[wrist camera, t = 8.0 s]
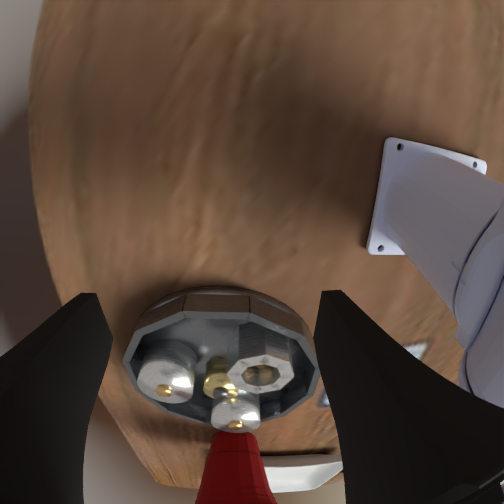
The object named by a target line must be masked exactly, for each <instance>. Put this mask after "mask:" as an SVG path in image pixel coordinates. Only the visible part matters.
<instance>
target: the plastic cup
mask: <svg viewBox="0 0 504 504" xmlns="http://www.w3.org/2000/svg"><path fill="white" fill-rule="evenodd" d="M195 504H277V502H276V501H275V498H274V497H273V494H272V491H271V490H270V487H269V483H268V479H267V476H266V472H265V468H264V465H263V461H262V457H261V456H260V452H259V447H258V443H257V440H256V438H255V436H254V435H253V434H251V433H248V432H243V433H230V432H225V431H223V432H219V433H217V434H215V436H214V437H213V440H212V442H211V446H210V450H209V455H208V457H207V460H206V464H205V468H204V472H203V476H202V480H201V485H200V489H199V492H198V495H197V500H196V502H195Z"/></svg>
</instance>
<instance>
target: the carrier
mask: <svg viewBox="0 0 504 504" xmlns="http://www.w3.org/2000/svg"><path fill="white" fill-rule="evenodd" d="M248 322H254V323H257V324H259V325H261V326H264V327H266V328H268V329H271V330H273V331H276V332H278V333H281V334H283V335H285V336H287V338H288V341H289V346H290V352H291V358H292V365H293V371H294V378H292V379H291V380H290V381H289V382H288V383H287V384H286V385H285V386H284V387H282V388H281V389H280V390H275V391H269V392H264V393H258V394H256V393H252V392H248V391H244V390H241V389H237V388H235V387H234V386H233V384H232V382H231V381H230V379H229V377H228V376H227V353H228V339H229V337H230V336H231V335H232V333H233V332H234V331H235V329H236V328H237V327H238V325H239V324H244V323H248ZM122 362H123V364H124V367H125V369H126V371H127V373H128V376H129V378H130V380H131V382H132V384H133V386H134V388H135V390H136V391H137V392H138V393H140V394H141V395H142V396H144V397H145V398H146V399H148V400H149V401H150V402H152V403H153V404H154V405H156V406H157V407H159V408H160V409H161V410H163V411H164V412H166V413H169V414H172V415H175V416H178V417H181V418H184V419H187V420H191V421H194V422H197V423H201V424H205V425H213V426H214V427H215V428H217V429H219V430H221V431H225V432H230V433H243V432H249V431H252V430H255V429H256V428H258V427H259V426H260V422H264V421H268V420H271V419H275V418H279V417H282V416H284V415H287V414H288V413H289V412H291V411H292V410H294V409H295V408H297V407H298V406H299V405H301V404H302V403H304V402H305V401H306V400H308V399H309V398H310V397H312V396H313V395H314V392H315V389H316V386H317V383H318V380H319V378H320V375H321V373H320V370H319V367H318V362H317V357H316V351H315V345H314V341H313V338H312V334H311V332H310V330H309V328H308V326H307V324H306V323H305V322H304V320H303V319H302V318H301V317H300V316H299V315H298V314H297V313H296V312H295V311H294V310H293V309H291V308H290V307H288V306H287V305H286V304H284V303H282V302H280V301H278V300H277V299H275V298H272V297H270V296H267V295H265V294H263V293H259V292H256V291H252V290H249V289H243V288H237V287H228V286H203V287H196V288H189V289H185V290H181V291H177V292H175V293H172V294H170V295H167V296H165V297H163V298H162V299H160V300H158V301H156V302H155V303H154V304H152V305H151V306H150V307H149V308H148V309H147V310H146V311H145V312H144V313H143V314H142V315H141V317H140V319H139V321H138V322H137V325H136V327H135V330H134V332H133V335H132V337H131V339H130V341H129V344H128V346H127V349H126V351H125V354H124V357H123V360H122ZM268 366H269V365H266V364H261V365H255V367H257V368H266V367H268Z"/></svg>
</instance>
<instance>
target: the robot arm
mask: <svg viewBox="0 0 504 504" xmlns="http://www.w3.org/2000/svg"><path fill="white" fill-rule="evenodd" d="M399 143H400V144H401V148H400V149H399V150H398V149H397V145H398V144H399ZM473 163H474V166H473ZM486 168H487V165H486V162H485V161H483V160H481V159H478V158H474V157H471V156H468V155H464V154H461V153H457V152H454V151H450V150H446V149H443V148H439V147H435V146H430V145H426V144H422V143H418V142H413V141H408V140H403V139H398V138H393V137H389V138H387V139H386V141H385V143H384V151H383V158H382V165H381V172H380V178H379V184H378V190H377V196H376V202H375V207H374V212H373V217H372V222H371V227H370V232H369V236H368V241H367V245H366V249H367V251H368V252H369V253H370V254H375V255H406V256H407V257H408V258H409V259H410V261H411V262H412V263H413V264H414V265H415V266H416V268H417V269H418V270H419V271H420V273H421V274H422V275H423V276H424V277H425V279H426V280H427V281H428V282H429V284H430V285H431V286H432V287H433V289H434V290H435V291H436V293H437V294H438V295H439V296H440V298H441V299H442V300H443V302H444V303H445V304H446V306H447V307H448V308H449V310H450V311H451V312H452V314H453V315H454V316H455V318H456V319H457V321H458V328H457V331H456V334H455V337H456V338H457V340H458V341H459V343H460V344H461V346H462V347H463V349H464V351H465V352H464V354H463V356H462V358H461V360H460V364H459V369H458V381H459V386H457V385H455V384H454V383H452V382H450V381H449V380H447V379H446V378H444V377H442V376H441V375H439V374H438V373H436V372H435V371H434V370H432V369H431V368H429V367H428V366H427V365H425V364H424V363H422V362H421V361H420V360H418V359H417V358H416V357H414V356H413V355H412V354H411V353H409V352H408V351H407V350H406V349H405V348H403V347H402V346H401V345H400V344H399V343H397V342H396V341H395V340H394V339H393V338H392V337H390V336H389V335H388V334H387V333H386V332H385V331H384V330H383V329H382V328H380V327H379V326H378V325H377V324H376V323H375V322H374V321H373V320H372V319H371V318H370V317H369V316H368V315H367V314H366V313H365V312H363V311H362V310H361V309H360V308H359V307H358V306H357V305H356V304H355V303H354V302H353V301H352V300H351V299H350V298H349V297H348V296H347V295H346V294H345V293H344V292H342V291H341V290H329V291H322V293H321V299H320V305H319V310H318V316H317V321H316V326H315V331H314V336H313V339H314V345H315V351H316V357H317V362H318V367H319V370H320V373H321V377H322V380H323V383H324V387H325V390H326V393H327V397H328V400H329V403H330V406H331V410H332V413H333V417H334V420H335V424H336V428H337V432H338V438H339V444H340V450H341V457H342V465H343V473H344V482H345V495H346V504H504V484H502V485H500V482H502V481H503V480H504V184H502V183H501V182H499V181H497V180H495V179H493V178H491V177H489V176H487V175H485V174H486ZM380 245H382V247H381V248H380V249H378V247H379V246H380ZM112 341H113V336H112V334H111V331H110V329H109V326H108V324H107V321H106V319H105V316H104V314H103V311H102V308H101V306H100V303H99V300H98V297H97V294H96V293H80V294H79V295H77V296H76V297H74V298H73V299H72V300H70V301H69V302H68V303H66V304H65V305H64V306H63V307H61V308H60V309H59V310H58V311H57V312H55V313H54V314H53V315H52V316H51V317H49V318H48V319H47V320H46V321H45V322H44V323H42V324H41V325H40V326H39V327H38V328H36V329H35V330H34V331H33V332H31V333H30V334H29V335H28V336H27V337H25V338H24V339H23V340H22V341H20V342H19V343H18V344H17V345H15V346H14V347H13V348H12V349H10V350H9V351H8V352H6V353H5V354H4V355H2V356H1V357H0V504H84V500H83V463H84V451H85V443H86V436H87V429H88V424H89V420H90V416H91V413H92V410H93V406H94V403H95V400H96V397H97V394H98V391H99V388H100V385H101V382H102V379H103V376H104V373H105V370H106V367H107V364H108V360H109V356H110V351H111V346H112Z"/></svg>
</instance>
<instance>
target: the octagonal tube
mask: <svg viewBox="0 0 504 504" xmlns="http://www.w3.org/2000/svg"><path fill="white" fill-rule="evenodd" d="M261 364H266V365H269V366H268V367H266V368H257V367H255V365H261ZM227 376H228V377H229V379H230V381H231V382H232V384H233V386H234V387H235V388H237V389H241V390H244V391H248V392H252V393H256V394H258V393H264V392H269V391H275V390H280V389H281V388H282V387H284V386H285V385H286V384H287V383H288V382H289V381H290V380H291V379H292V378H294V371H293V365H292V358H291V352H290V346H289V341H288V338H287V336H285V335H283V334H281V333H278V332H276V331H273V330H271V329H268V328H266V327H264V326H261V325H259V324H257V323H254V322H248V323H244V324H239V325H238V327H237V328H236V329H235V331H234V332H233V333H232V335H231V336H230V337H229V339H228V353H227Z"/></svg>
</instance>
